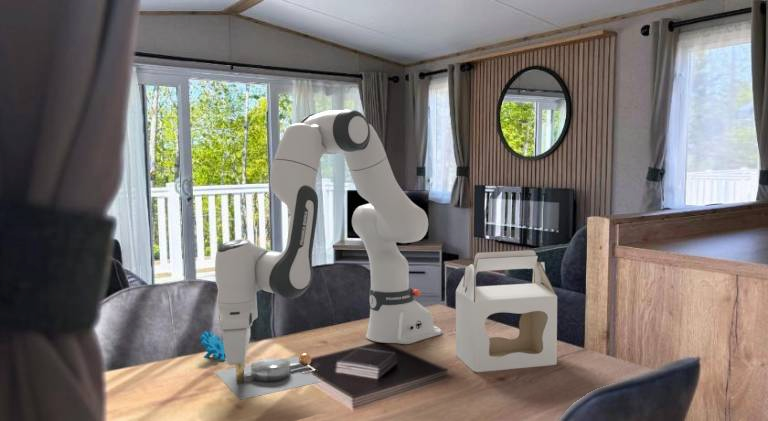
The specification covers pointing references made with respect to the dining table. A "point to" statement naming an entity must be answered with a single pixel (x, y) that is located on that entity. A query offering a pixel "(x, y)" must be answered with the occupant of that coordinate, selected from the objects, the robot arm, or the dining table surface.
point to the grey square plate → (262, 387)
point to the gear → (213, 345)
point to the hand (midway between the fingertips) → (240, 370)
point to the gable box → (524, 299)
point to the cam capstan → (270, 369)
